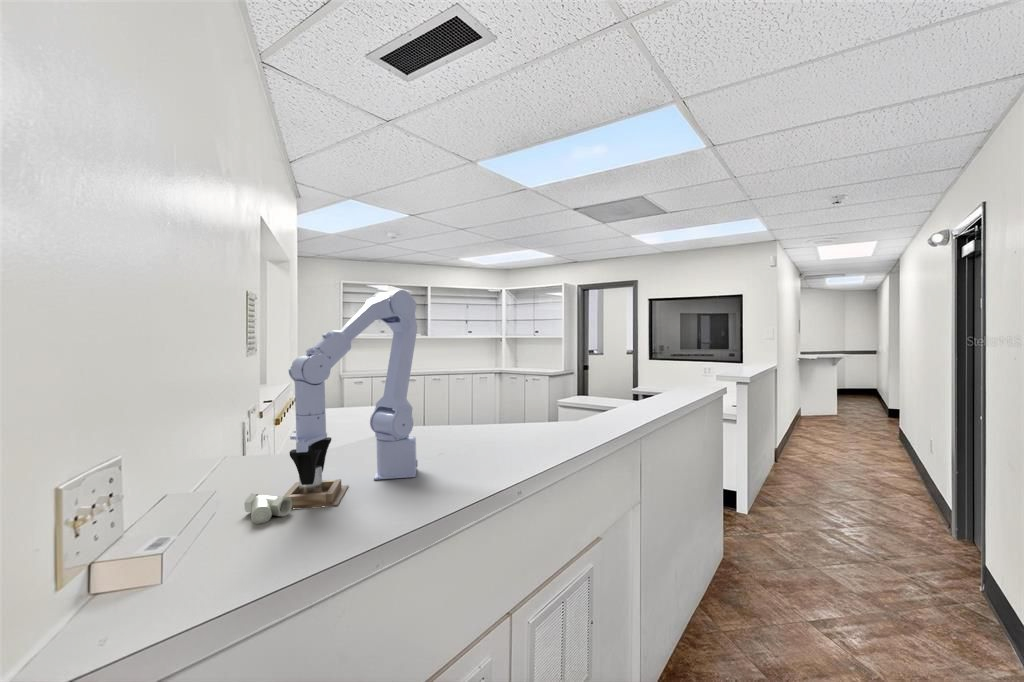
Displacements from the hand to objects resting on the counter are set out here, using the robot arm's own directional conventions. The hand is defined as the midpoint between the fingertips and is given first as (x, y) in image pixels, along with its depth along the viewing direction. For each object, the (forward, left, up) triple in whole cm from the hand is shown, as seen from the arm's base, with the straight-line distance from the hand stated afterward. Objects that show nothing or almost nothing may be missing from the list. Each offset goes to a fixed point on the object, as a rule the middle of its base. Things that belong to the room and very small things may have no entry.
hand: (312, 478), depth 98 cm
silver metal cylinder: (0, 0, -4) cm, 4 cm away
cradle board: (0, 0, -5) cm, 5 cm away
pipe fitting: (+7, +9, -5) cm, 12 cm away
